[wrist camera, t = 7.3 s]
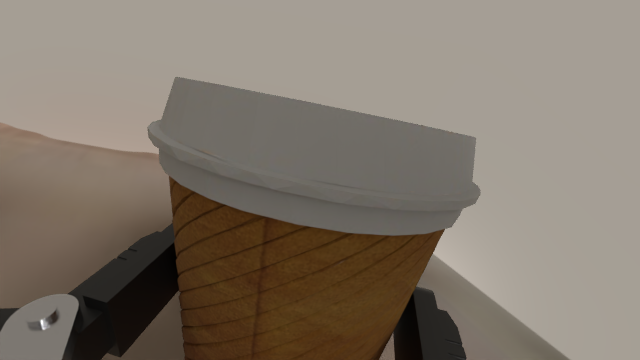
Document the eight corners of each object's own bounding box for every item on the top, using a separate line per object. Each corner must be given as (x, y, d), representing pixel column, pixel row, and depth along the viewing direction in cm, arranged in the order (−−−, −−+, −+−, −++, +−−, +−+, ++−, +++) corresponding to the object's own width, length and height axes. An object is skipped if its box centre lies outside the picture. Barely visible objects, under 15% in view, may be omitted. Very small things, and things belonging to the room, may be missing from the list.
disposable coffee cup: (274, 289, 18) (306, 105, 15) (414, 394, 13) (506, 144, 10) (93, 393, 10) (86, 59, 7) (259, 758, 5) (463, 127, 2)
